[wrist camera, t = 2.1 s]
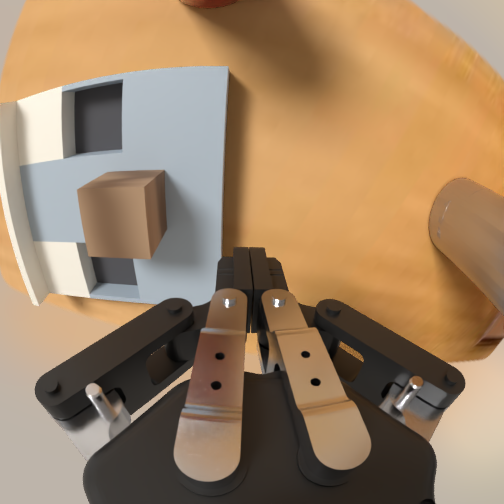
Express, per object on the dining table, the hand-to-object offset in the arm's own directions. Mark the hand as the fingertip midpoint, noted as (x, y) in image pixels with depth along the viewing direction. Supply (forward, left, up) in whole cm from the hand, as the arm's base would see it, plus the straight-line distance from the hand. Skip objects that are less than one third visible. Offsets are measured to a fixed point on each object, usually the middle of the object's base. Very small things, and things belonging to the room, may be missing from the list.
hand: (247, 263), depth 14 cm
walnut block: (+9, 0, -9) cm, 13 cm away
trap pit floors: (+13, 0, -12) cm, 17 cm away
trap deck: (+12, 0, -12) cm, 17 cm away
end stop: (+22, 0, -9) cm, 24 cm away
